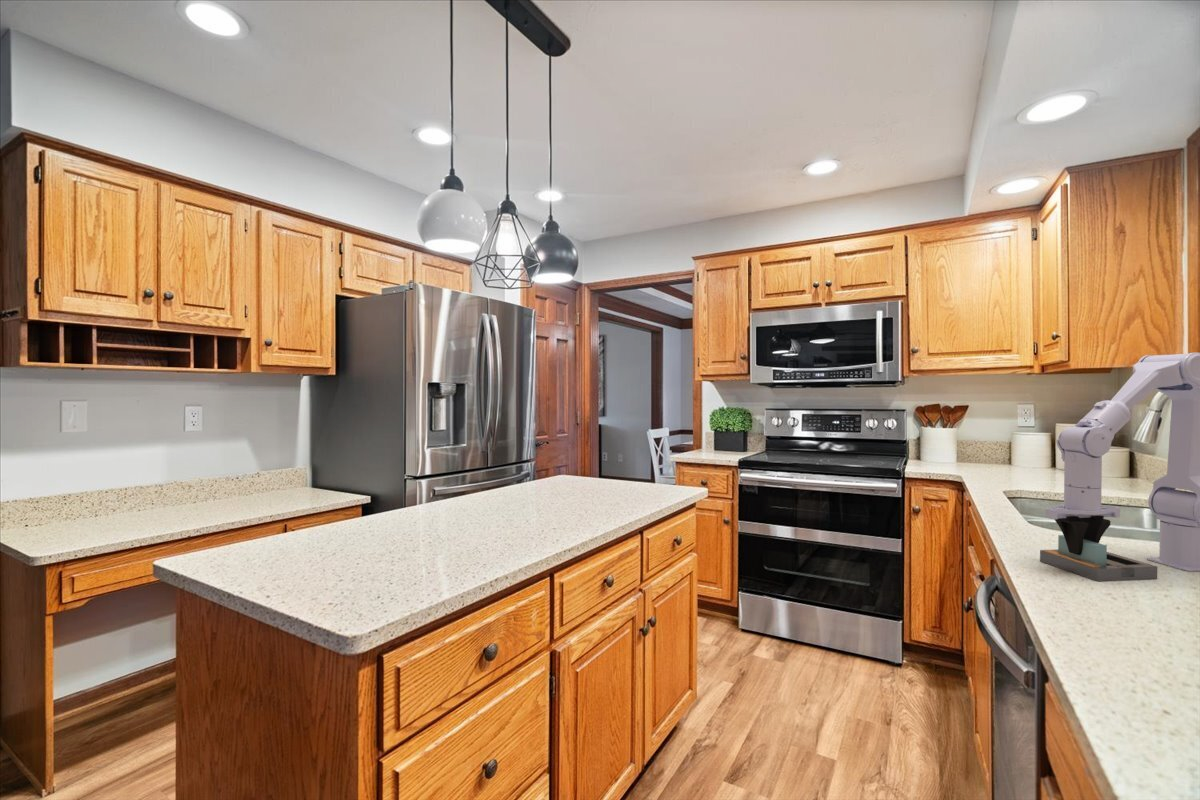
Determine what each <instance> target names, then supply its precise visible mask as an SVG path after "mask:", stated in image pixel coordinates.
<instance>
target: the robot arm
mask: <svg viewBox="0 0 1200 800" xmlns="http://www.w3.org/2000/svg"><path fill="white" fill-rule="evenodd" d="M1154 391H1157V392H1159V393H1161V394H1164V395H1165V396H1166V397H1167V398H1169V399H1170V400H1171V407H1170V409H1171V410H1170V420H1169V421H1170V422H1169V423H1170V424H1169V437H1168V438H1169V440H1168V449H1167V451H1168V453H1167V468H1166V469H1167V470H1166V474H1164V475H1163V476H1161V477H1160V478H1157V479H1155V480H1154V481H1153V482H1152V483H1153V485H1152V490H1151V493H1150V494H1149V496H1148V500H1147V504H1148V507H1149V510H1150V512H1151V513H1152V514H1153V515H1155V520H1158V521H1159V551H1158V553H1159V554H1158V555H1159V556H1154V557H1151V556H1150V557H1147V561H1150V562H1154V563H1157V564H1160V565H1164V566H1168V567H1172V568H1174V569H1178V570H1181V571H1184V572H1185V571H1186V572H1200V352H1190V353H1176V354H1157V355H1156V354H1155V355H1154V354H1146V355H1144V356H1142V357H1141V358H1139V360H1138V361H1137V362H1136V363H1135V364H1133V365H1132V375H1130V377H1129V379H1128V380H1127V381H1126V382H1125V383H1124V384H1123V385H1122V387H1121V388H1120V389H1119V390H1118V391H1117V393H1116V394H1115V395H1114V396H1113V397H1112V398H1111V400H1108V399H1107V400H1101V401H1097V402H1096V403H1095V404H1094V405H1093V408H1092V409H1091V410H1090V411H1089V412H1088V413H1086V414H1085V416H1084V417H1083V418H1081V419H1080V420H1079V421H1078V422H1077V423H1076V424H1075V426H1068V427H1066V428H1065V429H1063V430H1062V431H1060V432H1059V435H1058V439H1056V441H1055V442H1056V446H1057V448H1058V450H1059V451H1060V453H1061V454H1060V455H1061V459H1062V461H1063V462H1064V464H1063V465H1064V475H1063V479H1064V480H1063V482H1064V483H1063V503H1061V504H1060V505H1057V506H1053V507H1044V518H1045V519H1046V518H1048V519H1051V520H1054V521H1055V523H1056V524H1057V525H1058V527H1059V529H1060V531H1061V532H1062V535H1064V537H1065V540H1066V543H1067V547H1068V550H1069V552H1070V553H1073V554H1076V555H1081V553H1082V549H1083V539H1085V540H1089V541H1093V542H1096V543H1100V541H1101V539H1102V537H1103V535H1104V533H1105V532H1106V531H1107V530H1108V528H1109V527H1111V520H1110V519H1106V518H1118V519H1119V518H1120V515H1121V514H1120V513H1121V511H1120V510H1121V509H1120V507H1117V506H1112V505H1111V506H1110V505H1108V506H1107V505H1102V478H1103V477H1102V475H1103V474H1102V472H1103V471H1102V470H1103V468H1102V467H1103V465H1102V463H1103V459H1102V458H1103V456H1104V455H1106V454H1107V453H1109V451H1110V449H1111V447H1112V442H1113V440H1114V437H1115V434H1117V433H1118V432H1119V431H1120V430H1121V429H1122V428H1123V427H1124V426H1125V425H1126V424H1127V423H1128V422H1129V421H1130V420H1131V418H1132V414H1131V410H1132V409H1133V408H1134V407H1136V406H1137V405H1138V404H1139V403H1141V402H1142V401H1143V400H1144V399H1145V398H1146V397H1148V396H1149V395H1151V394H1152V392H1154Z"/></svg>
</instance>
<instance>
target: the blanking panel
mask: <svg viewBox="0 0 1200 800" xmlns="http://www.w3.org/2000/svg"><path fill="white" fill-rule="evenodd" d="M1057 539H1058V541H1057V543H1058V544H1057V546H1058V547H1057V549H1058V552H1059V553H1062V554H1065V555H1068V556H1071V557H1074V558H1077V559H1081V560H1084V561H1087V562H1090V563H1093V564H1096V565H1099V566H1106V563H1107V552H1108V548H1107V547H1108V545H1106V544H1104V543H1103V544H1102V543H1100V542H1099V543H1096V542H1093V541H1089V540H1085V539H1083V549H1082V553H1081V555H1076V554H1073V553H1070V552H1069V550H1068V547H1067V543H1066V540H1065V537H1064V535H1063V534H1059V535H1058V538H1057Z"/></svg>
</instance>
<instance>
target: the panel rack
mask: <svg viewBox="0 0 1200 800" xmlns="http://www.w3.org/2000/svg"><path fill="white" fill-rule="evenodd" d="M1039 562H1042V563H1045V564H1046V565H1050V566H1052V567H1054V568H1058V569H1061V570H1064V571H1066V572H1070V573H1072V574H1075V575H1078V576H1081V577H1084V578H1087V579H1089V580H1092V581H1095V582H1115V581H1139V580H1141V581H1143V580H1158V567H1159V566H1157V565H1153V564H1150V563H1146V562H1143V561H1140V560H1137V559H1133V558H1129V557H1127V556H1122V555H1119V554H1115V553H1113V552H1109V551H1107V563H1106V566H1099V565H1096V564H1093V563H1090V562H1087V561H1084V560H1081V559H1077V558H1074V557H1071V556H1068V555H1065V554H1062V553H1059V552H1058V548H1057V549H1040V550H1039Z"/></svg>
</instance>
